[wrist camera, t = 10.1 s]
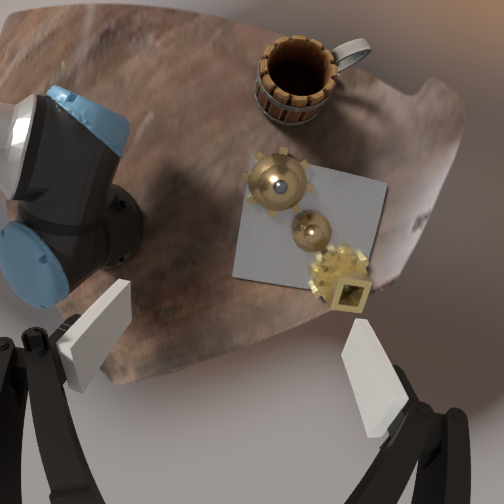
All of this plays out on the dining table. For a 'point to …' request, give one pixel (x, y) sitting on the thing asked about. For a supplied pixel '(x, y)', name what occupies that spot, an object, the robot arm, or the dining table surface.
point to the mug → (301, 77)
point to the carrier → (302, 218)
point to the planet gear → (341, 279)
